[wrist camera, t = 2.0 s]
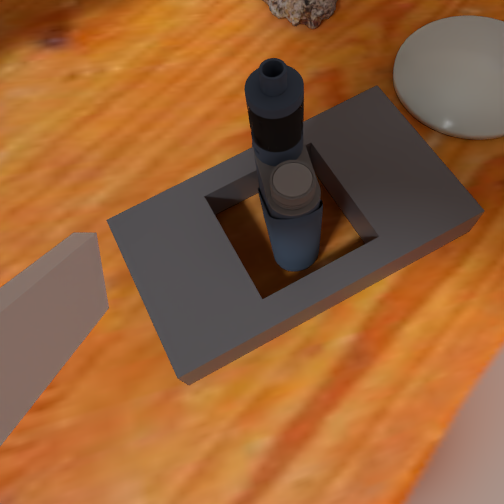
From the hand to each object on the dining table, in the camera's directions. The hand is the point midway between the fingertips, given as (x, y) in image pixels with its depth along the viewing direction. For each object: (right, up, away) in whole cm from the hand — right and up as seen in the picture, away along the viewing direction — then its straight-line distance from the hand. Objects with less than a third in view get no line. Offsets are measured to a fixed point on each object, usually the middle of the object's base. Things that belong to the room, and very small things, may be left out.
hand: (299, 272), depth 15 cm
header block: (+1, +2, +13) cm, 13 cm away
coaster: (+13, +12, +17) cm, 24 cm away
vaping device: (+1, +2, +14) cm, 14 cm away
